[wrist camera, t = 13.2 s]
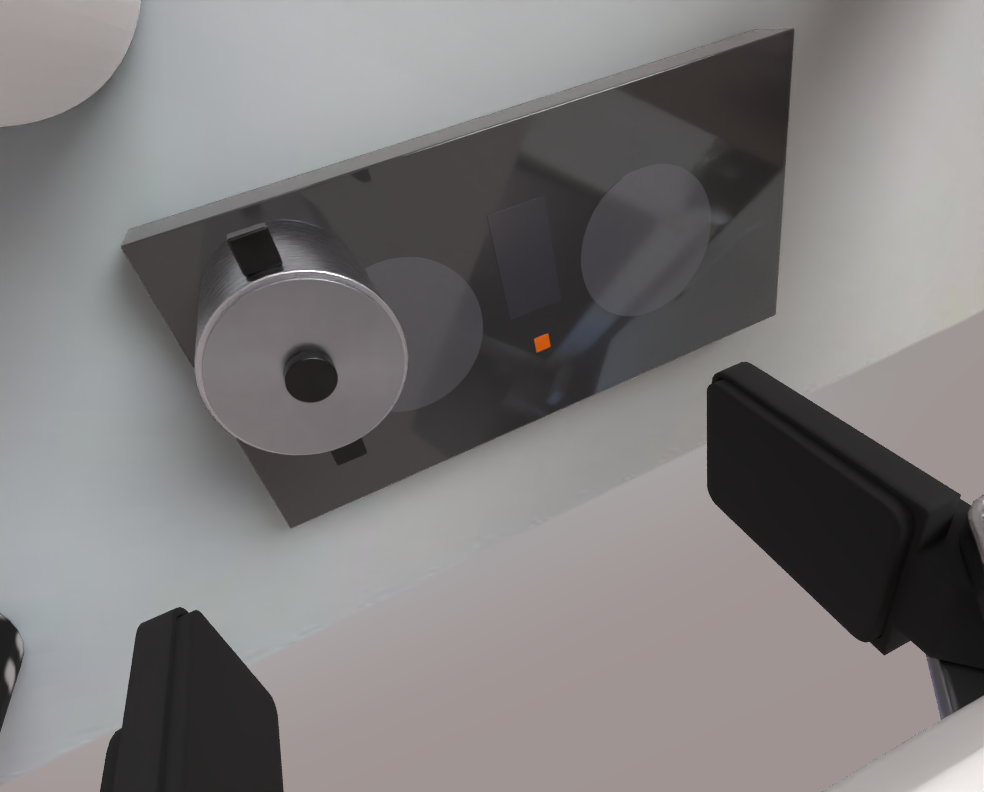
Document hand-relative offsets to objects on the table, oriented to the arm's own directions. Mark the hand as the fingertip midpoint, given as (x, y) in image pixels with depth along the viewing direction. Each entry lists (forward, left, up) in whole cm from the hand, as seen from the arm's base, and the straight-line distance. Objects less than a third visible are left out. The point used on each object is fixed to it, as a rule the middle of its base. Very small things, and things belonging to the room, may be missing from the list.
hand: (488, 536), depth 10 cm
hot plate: (-8, +5, -20) cm, 22 cm away
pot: (+2, +1, -17) cm, 17 cm away
